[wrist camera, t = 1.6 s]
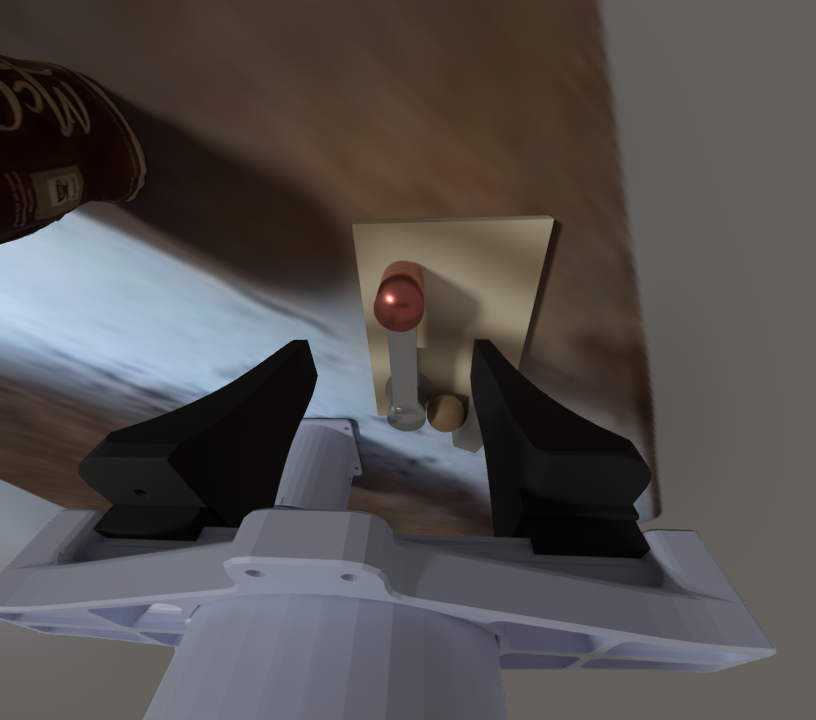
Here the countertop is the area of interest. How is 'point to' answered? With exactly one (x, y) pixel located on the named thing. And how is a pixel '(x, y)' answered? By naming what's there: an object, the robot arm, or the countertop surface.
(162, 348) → the countertop surface
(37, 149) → the coffee cup
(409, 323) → the lever
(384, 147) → the countertop surface
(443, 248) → the cracker base
